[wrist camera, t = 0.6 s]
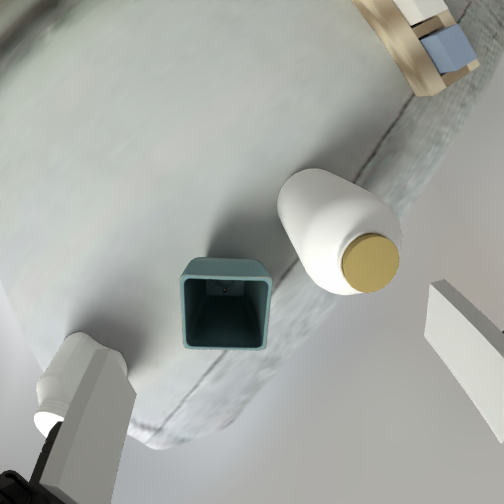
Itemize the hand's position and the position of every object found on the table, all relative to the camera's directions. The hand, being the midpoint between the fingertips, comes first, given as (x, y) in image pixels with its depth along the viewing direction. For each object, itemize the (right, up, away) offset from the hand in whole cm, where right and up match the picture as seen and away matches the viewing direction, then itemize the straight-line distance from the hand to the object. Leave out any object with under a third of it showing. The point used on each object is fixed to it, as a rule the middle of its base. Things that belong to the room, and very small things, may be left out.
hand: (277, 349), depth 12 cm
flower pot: (-4, +1, +28) cm, 28 cm away
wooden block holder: (+17, +33, +16) cm, 41 cm away
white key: (+17, +33, +14) cm, 40 cm away
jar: (-26, -13, +32) cm, 43 cm away
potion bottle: (+6, +10, +25) cm, 28 cm away
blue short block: (+21, +28, +16) cm, 39 cm away
